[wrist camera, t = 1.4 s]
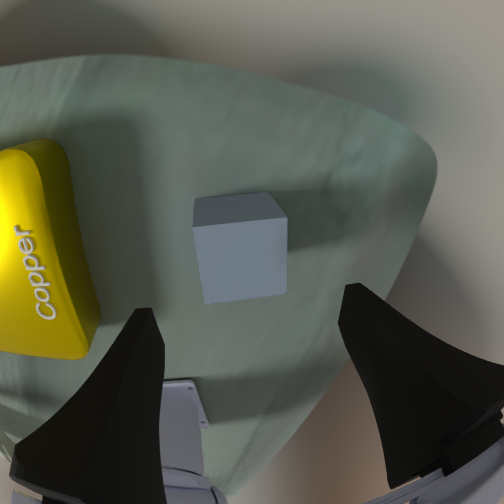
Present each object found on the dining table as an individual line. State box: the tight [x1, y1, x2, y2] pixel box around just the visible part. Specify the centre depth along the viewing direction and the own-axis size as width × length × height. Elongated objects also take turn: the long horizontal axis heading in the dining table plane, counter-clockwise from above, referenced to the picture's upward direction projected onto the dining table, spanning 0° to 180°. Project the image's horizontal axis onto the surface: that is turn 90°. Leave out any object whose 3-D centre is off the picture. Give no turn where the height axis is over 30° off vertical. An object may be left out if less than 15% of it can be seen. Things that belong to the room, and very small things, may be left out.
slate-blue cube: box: [193, 192, 287, 304], centre depth 17 cm, size 4×4×4 cm
